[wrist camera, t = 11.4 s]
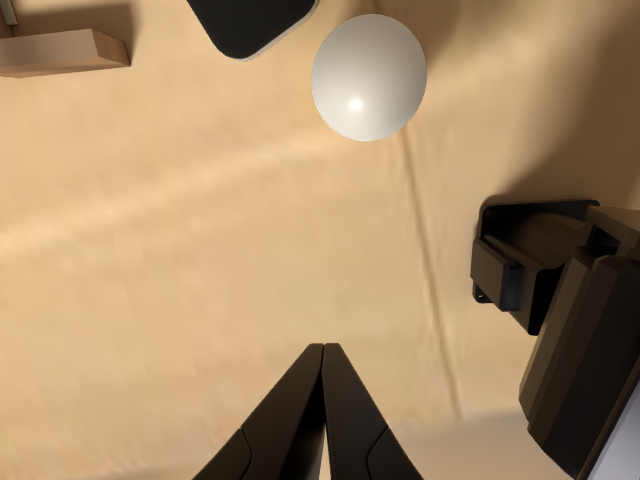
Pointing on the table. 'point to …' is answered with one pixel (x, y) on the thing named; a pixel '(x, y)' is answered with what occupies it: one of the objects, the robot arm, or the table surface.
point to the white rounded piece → (369, 77)
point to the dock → (55, 50)
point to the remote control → (250, 23)
